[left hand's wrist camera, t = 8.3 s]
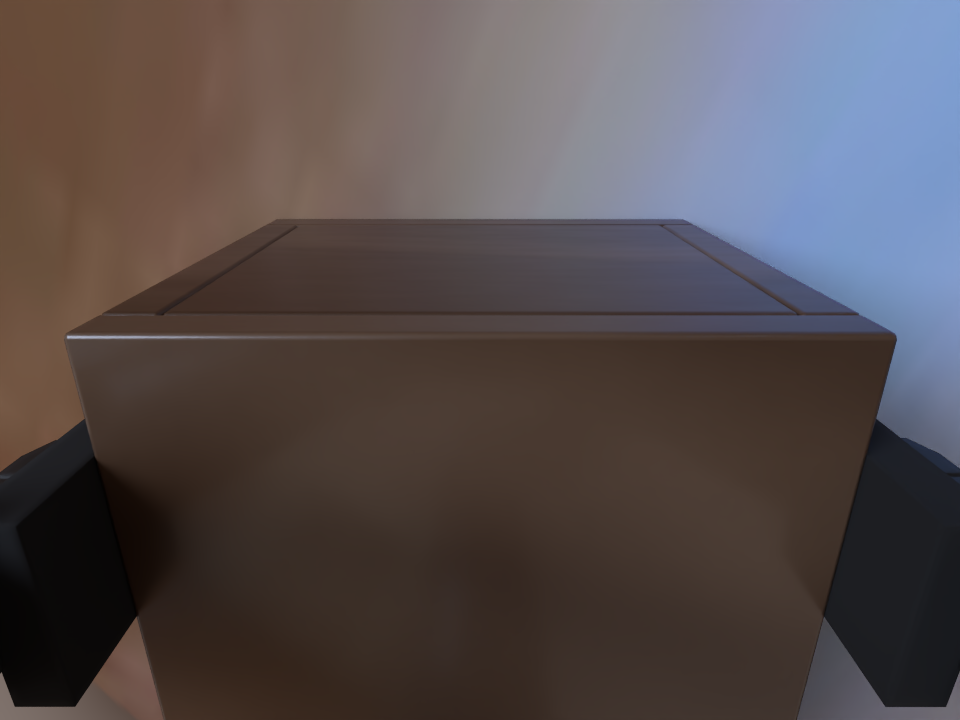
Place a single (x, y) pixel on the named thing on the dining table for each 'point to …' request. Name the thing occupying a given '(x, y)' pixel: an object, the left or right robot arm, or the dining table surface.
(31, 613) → the left robot arm
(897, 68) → the dining table surface
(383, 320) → the cabinet
